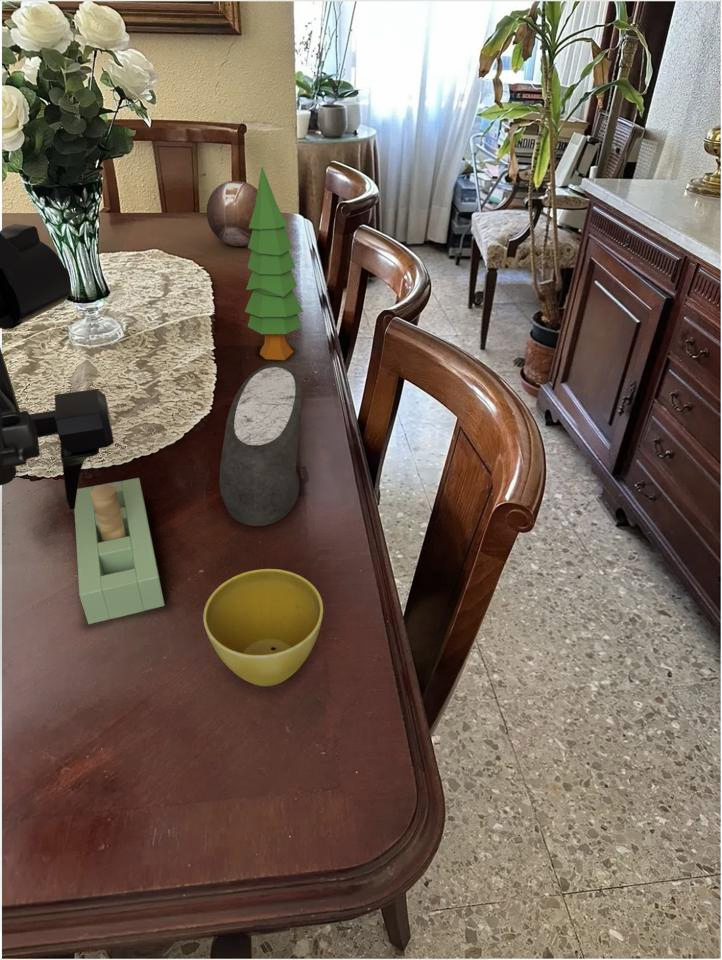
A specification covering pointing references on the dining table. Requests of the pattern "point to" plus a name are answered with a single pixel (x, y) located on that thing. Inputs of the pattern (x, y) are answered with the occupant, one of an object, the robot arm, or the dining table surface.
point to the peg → (108, 512)
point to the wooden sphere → (232, 212)
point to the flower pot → (264, 624)
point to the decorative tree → (271, 276)
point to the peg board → (116, 558)
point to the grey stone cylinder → (262, 447)
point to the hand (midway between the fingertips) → (16, 517)
